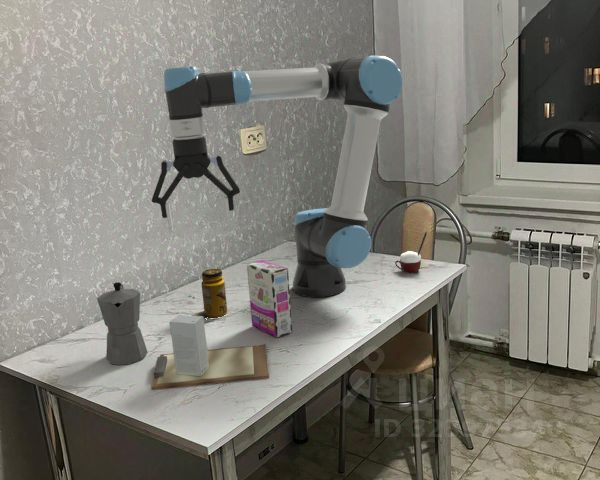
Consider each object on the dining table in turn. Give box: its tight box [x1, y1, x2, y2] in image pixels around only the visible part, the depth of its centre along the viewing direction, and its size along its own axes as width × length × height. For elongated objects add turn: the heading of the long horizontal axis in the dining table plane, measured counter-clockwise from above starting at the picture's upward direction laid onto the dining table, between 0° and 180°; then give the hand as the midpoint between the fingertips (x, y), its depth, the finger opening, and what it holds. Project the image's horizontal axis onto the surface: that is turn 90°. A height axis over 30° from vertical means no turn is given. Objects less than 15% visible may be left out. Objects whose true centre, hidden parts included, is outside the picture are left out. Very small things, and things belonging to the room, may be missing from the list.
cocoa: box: [394, 231, 428, 274], centre depth 197 cm, size 10×6×12 cm, turn 57°
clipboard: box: [151, 343, 270, 391], centre depth 143 cm, size 24×16×2 cm, turn 95°
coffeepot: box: [96, 282, 149, 366], centre depth 150 cm, size 15×9×18 cm, turn 13°
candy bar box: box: [246, 260, 293, 338], centre depth 160 cm, size 11×5×16 cm, turn 37°
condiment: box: [192, 268, 234, 323], centre depth 173 cm, size 7×8×12 cm
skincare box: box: [169, 314, 209, 376], centre depth 138 cm, size 6×4×12 cm
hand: (200, 227), depth 155 cm, fingers open, 13 cm apart
